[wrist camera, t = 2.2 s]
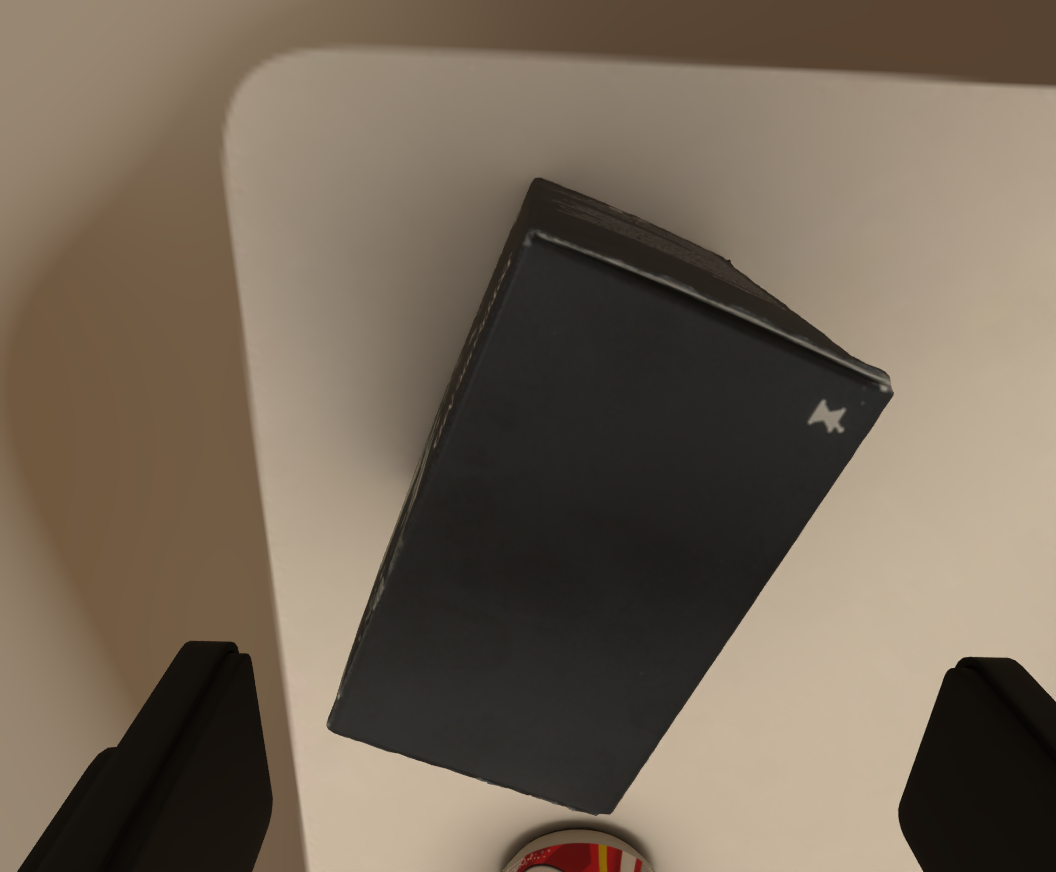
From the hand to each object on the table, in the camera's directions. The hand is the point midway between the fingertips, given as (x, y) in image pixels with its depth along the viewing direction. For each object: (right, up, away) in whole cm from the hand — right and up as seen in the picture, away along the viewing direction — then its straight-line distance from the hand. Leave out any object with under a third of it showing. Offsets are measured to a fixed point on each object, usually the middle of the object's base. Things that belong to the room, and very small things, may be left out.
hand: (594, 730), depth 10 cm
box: (0, +6, +12) cm, 13 cm away
